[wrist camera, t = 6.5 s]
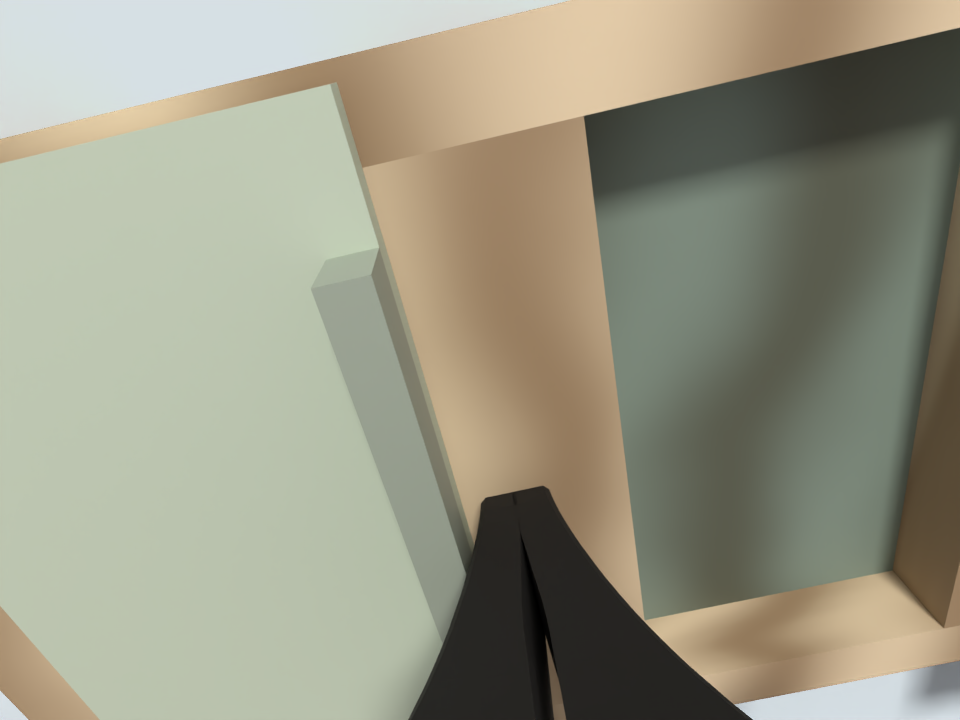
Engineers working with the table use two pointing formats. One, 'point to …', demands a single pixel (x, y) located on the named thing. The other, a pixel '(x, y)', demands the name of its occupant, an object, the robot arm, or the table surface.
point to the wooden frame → (675, 308)
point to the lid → (219, 426)
